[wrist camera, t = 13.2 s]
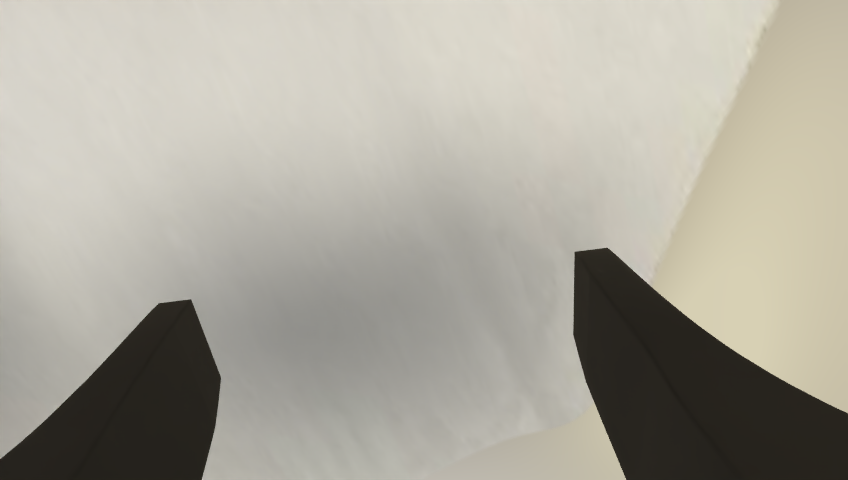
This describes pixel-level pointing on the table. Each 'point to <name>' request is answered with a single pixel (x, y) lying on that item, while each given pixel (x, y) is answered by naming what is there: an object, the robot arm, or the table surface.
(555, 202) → the table surface
